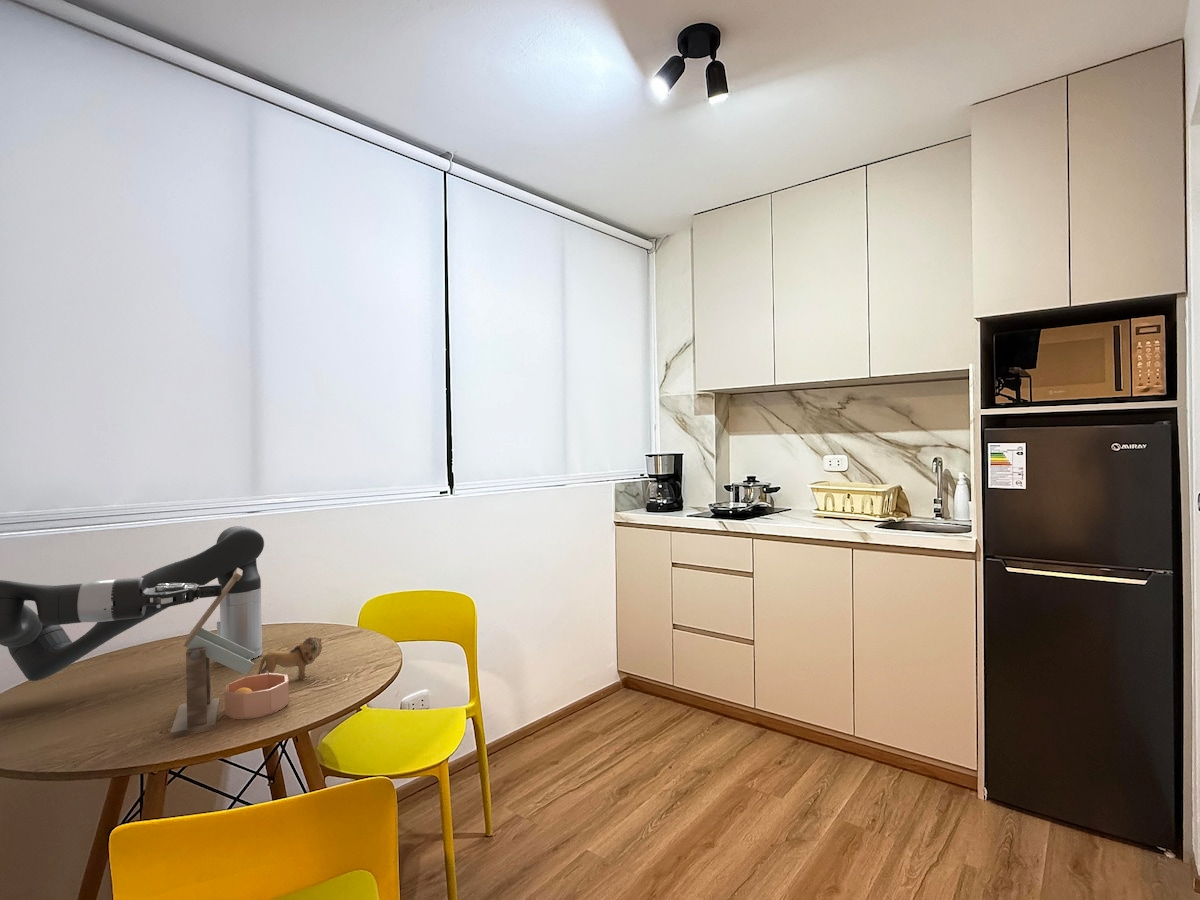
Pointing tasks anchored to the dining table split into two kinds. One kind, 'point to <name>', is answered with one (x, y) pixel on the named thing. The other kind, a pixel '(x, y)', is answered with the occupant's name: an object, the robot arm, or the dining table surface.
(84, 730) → the dining table surface
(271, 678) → the bowl
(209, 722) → the stand
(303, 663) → the lion figurine
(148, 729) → the dining table surface
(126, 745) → the dining table surface
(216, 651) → the tipping tray
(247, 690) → the ball
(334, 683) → the dining table surface
